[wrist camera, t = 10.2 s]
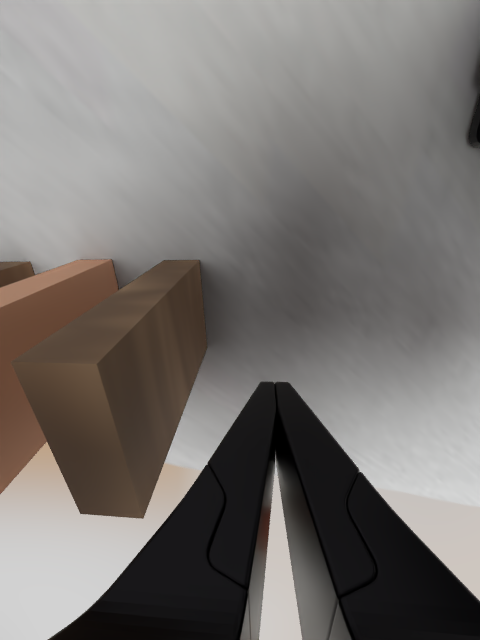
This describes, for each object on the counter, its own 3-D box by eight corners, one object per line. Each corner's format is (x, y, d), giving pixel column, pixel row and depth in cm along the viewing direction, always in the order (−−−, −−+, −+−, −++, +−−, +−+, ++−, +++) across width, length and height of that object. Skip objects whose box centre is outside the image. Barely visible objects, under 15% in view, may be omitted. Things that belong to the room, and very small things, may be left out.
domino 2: (199, 260, 13) (96, 364, 5) (207, 347, 15) (143, 518, 7) (163, 260, 13) (10, 361, 5) (176, 346, 16) (80, 513, 7)
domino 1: (102, 344, 16) (-67, 501, 8) (78, 259, 14) (-187, 354, 6) (131, 344, 16) (-10, 505, 8) (111, 259, 14) (-113, 356, 6)
